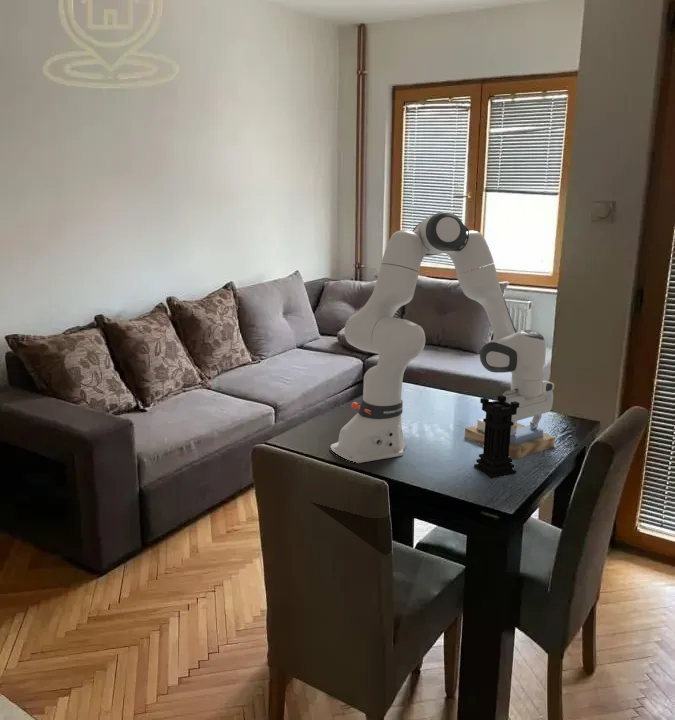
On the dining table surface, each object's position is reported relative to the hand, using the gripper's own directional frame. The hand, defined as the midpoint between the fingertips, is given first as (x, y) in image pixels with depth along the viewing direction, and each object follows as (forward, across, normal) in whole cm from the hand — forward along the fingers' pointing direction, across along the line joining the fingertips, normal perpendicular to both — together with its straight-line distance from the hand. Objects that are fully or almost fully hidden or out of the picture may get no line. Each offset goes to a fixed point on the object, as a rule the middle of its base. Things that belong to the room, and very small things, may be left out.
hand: (523, 431), depth 200 cm
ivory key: (+2, 0, +10) cm, 10 cm away
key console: (+5, 0, +5) cm, 7 cm away
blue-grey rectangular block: (+3, 0, 0) cm, 3 cm away
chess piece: (+5, -19, -7) cm, 21 cm away
